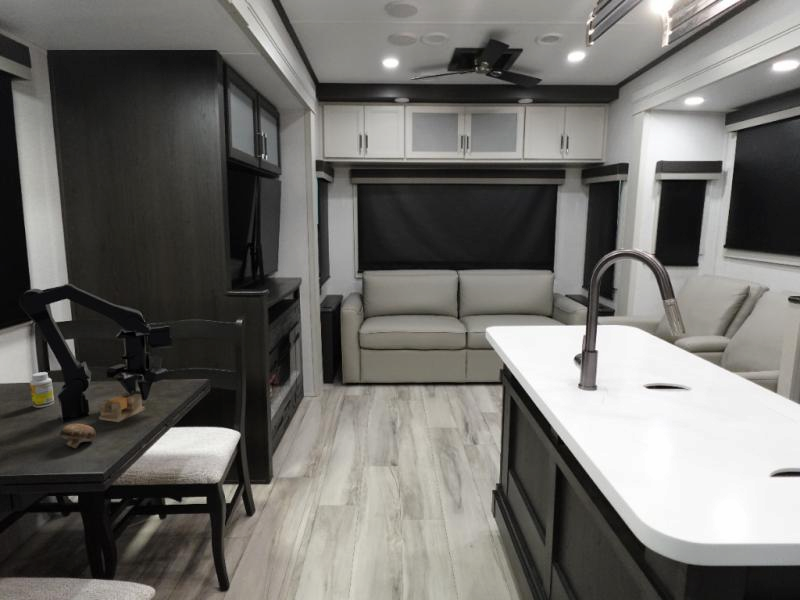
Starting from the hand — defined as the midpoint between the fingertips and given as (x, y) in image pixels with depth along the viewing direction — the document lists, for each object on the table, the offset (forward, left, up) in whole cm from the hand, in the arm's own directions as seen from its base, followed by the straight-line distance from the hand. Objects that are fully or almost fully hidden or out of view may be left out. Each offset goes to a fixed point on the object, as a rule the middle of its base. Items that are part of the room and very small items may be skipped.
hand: (139, 399), depth 156 cm
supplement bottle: (-22, +23, -2) cm, 32 cm away
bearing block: (-6, -3, -2) cm, 7 cm away
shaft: (-4, -2, -1) cm, 5 cm away
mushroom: (-20, -18, -3) cm, 27 cm away
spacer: (-7, -4, 0) cm, 8 cm away
